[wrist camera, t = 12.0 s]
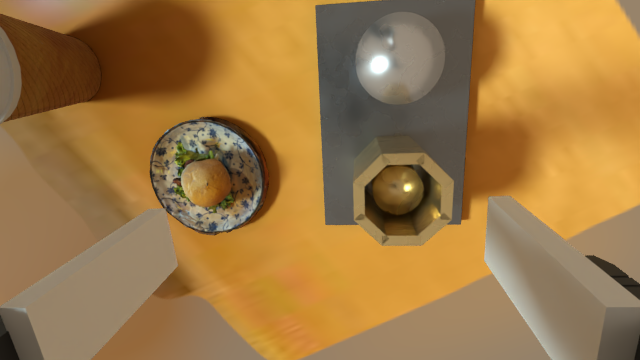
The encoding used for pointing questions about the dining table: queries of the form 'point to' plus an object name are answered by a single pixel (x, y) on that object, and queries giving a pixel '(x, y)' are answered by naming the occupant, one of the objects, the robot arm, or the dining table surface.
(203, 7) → the dining table surface
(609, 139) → the dining table surface
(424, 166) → the sleeve
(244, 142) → the burger
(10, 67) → the disposable coffee cup
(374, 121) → the plate
